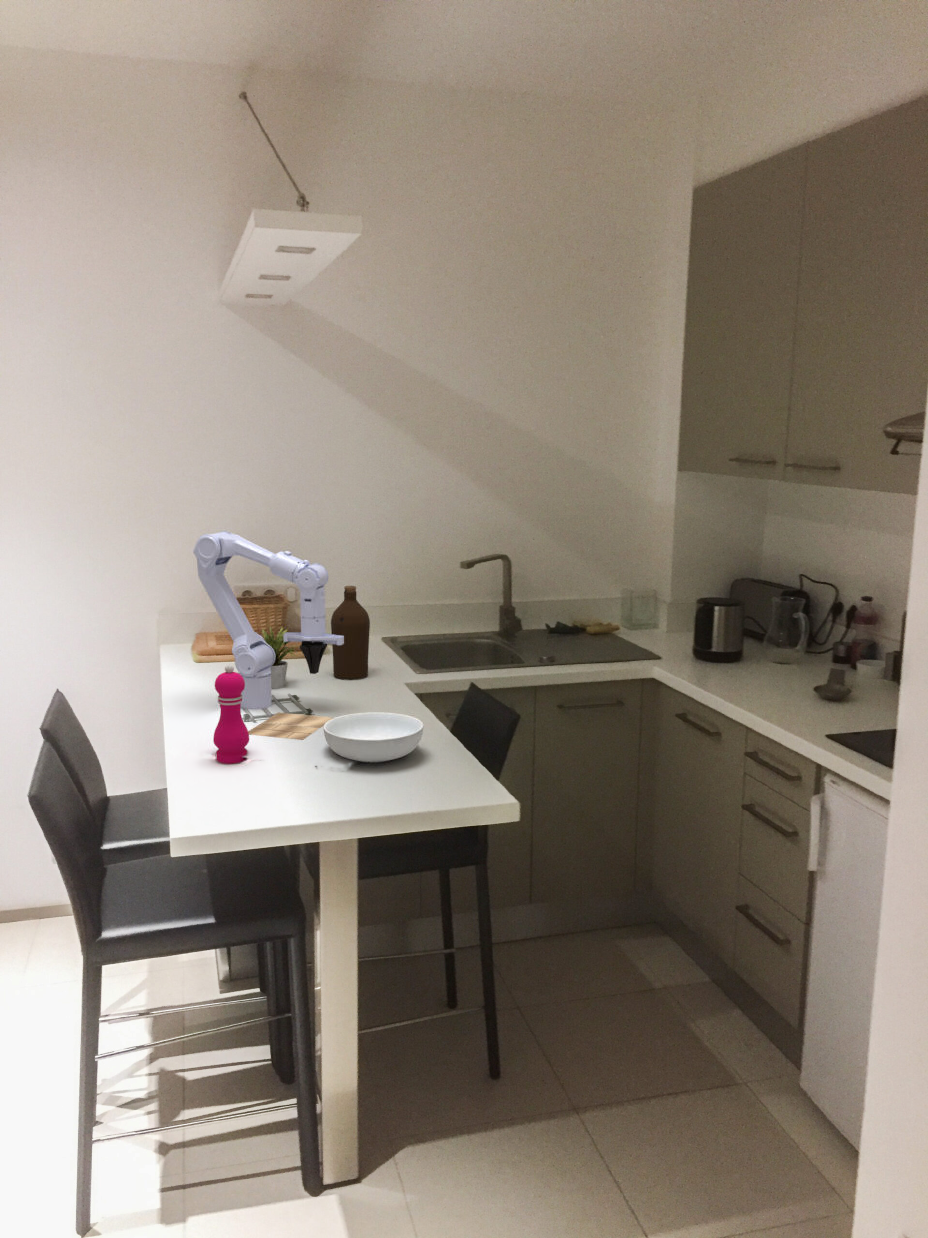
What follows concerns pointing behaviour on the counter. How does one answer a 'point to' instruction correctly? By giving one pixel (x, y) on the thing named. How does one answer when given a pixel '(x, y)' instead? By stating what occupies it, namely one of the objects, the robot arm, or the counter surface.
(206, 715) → the counter surface
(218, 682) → the pepper mill
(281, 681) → the house plant
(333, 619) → the olive oil
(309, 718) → the click plank
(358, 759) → the serving bowl
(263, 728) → the laid floor boards
